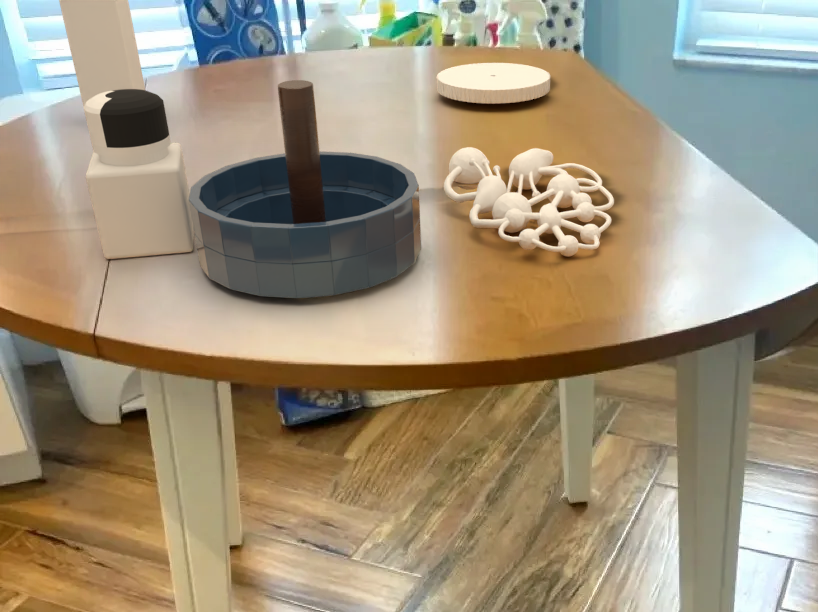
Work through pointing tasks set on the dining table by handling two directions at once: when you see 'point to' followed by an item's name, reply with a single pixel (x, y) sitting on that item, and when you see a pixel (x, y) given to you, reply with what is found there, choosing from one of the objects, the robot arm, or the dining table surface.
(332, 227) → the bowl
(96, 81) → the milk
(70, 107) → the dining table surface
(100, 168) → the medicine bottle
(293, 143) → the stick
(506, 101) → the plastic lid
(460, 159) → the tangled rod sculpture
